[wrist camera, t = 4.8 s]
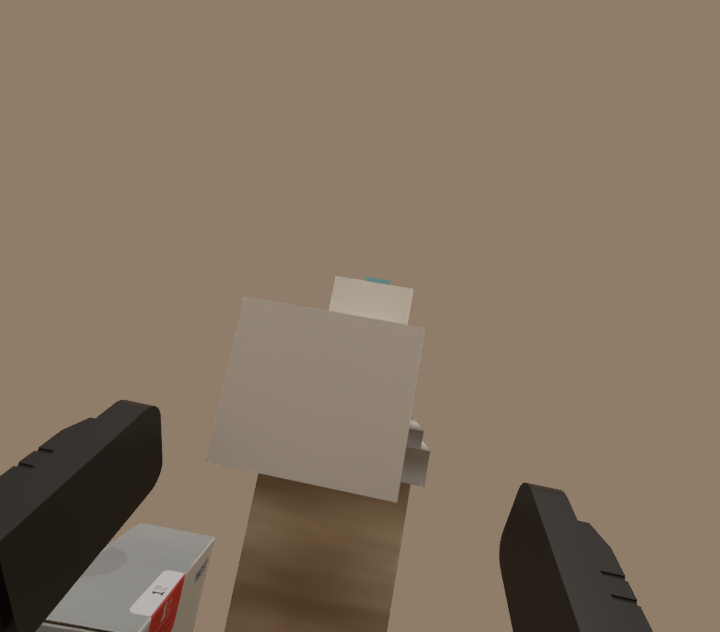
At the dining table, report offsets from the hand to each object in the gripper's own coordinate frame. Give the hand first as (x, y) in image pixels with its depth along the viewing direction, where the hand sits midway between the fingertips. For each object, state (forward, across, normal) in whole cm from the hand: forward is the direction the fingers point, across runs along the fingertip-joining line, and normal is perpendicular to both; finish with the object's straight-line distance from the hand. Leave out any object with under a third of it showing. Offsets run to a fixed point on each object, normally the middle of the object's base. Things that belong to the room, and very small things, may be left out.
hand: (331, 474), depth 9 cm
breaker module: (+9, -1, -6) cm, 11 cm away
